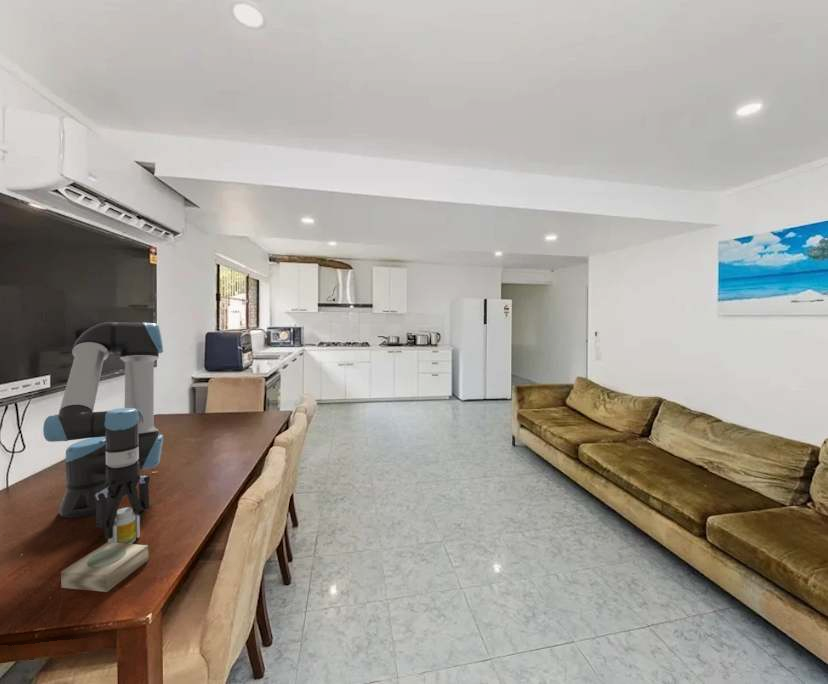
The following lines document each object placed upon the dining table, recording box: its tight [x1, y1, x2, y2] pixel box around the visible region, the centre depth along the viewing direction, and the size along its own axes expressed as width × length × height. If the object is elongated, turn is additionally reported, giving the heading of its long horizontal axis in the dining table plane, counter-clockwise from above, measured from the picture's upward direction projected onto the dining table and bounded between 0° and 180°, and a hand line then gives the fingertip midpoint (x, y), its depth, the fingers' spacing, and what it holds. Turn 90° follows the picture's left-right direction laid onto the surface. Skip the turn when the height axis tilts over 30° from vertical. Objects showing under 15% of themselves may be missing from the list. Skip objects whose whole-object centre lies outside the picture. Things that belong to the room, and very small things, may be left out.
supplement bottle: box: [114, 506, 137, 544], centre depth 106 cm, size 5×5×10 cm
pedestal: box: [60, 541, 149, 593], centre depth 93 cm, size 12×12×4 cm
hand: (124, 541), depth 106 cm, fingers closed on supplement bottle, 5 cm apart
